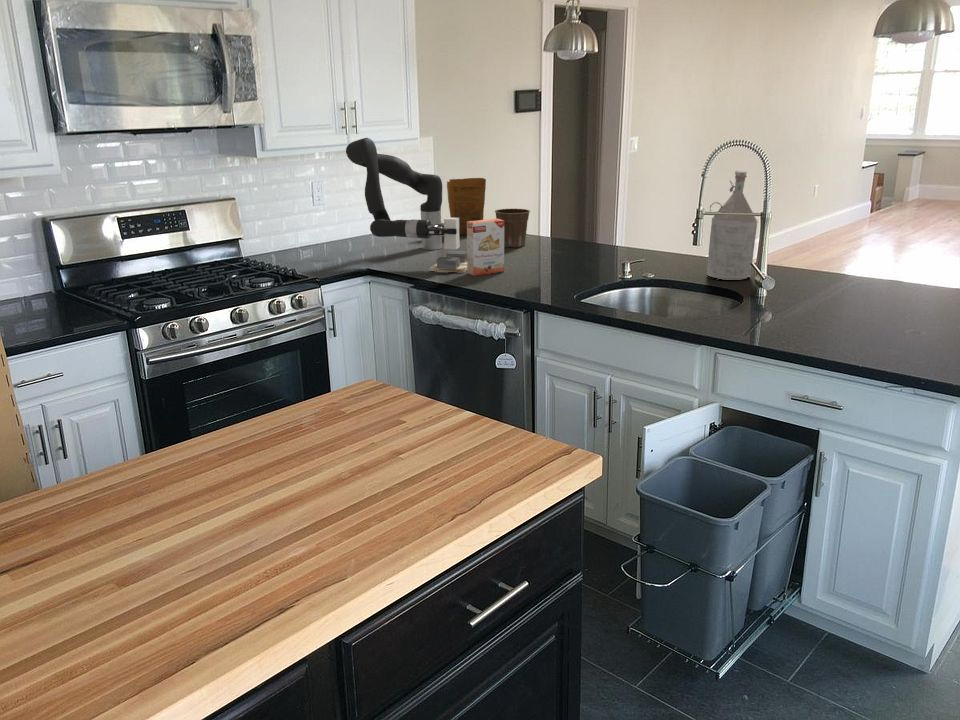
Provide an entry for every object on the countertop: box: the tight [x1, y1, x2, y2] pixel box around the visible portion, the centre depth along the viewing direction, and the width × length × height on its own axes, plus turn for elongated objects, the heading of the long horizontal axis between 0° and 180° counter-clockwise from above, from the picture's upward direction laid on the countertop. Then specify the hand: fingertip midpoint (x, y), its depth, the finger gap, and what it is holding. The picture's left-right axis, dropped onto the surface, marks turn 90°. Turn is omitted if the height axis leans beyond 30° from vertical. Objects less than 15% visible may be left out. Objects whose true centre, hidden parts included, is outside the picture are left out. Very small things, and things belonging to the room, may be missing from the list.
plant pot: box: [494, 208, 531, 249], centre depth 358 cm, size 16×16×16 cm
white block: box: [443, 216, 461, 250], centre depth 314 cm, size 4×5×12 cm
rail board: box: [429, 250, 467, 274], centre depth 318 cm, size 18×14×5 cm
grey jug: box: [706, 169, 758, 278], centre depth 288 cm, size 13×17×40 cm
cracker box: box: [466, 218, 505, 277], centre depth 305 cm, size 14×6×21 cm, turn 117°
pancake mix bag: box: [446, 177, 487, 236], centre depth 384 cm, size 7×19×28 cm, turn 85°
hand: (458, 230), depth 313 cm, fingers closed on white block, 4 cm apart
